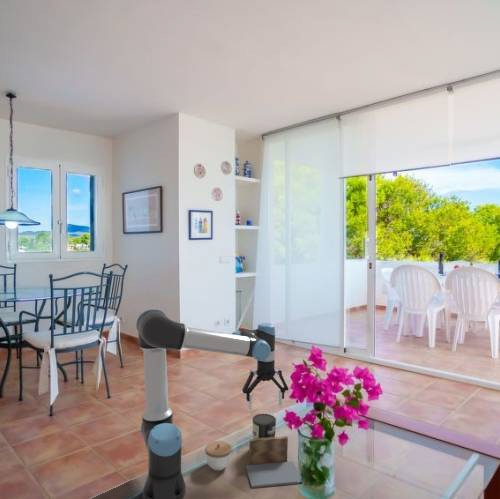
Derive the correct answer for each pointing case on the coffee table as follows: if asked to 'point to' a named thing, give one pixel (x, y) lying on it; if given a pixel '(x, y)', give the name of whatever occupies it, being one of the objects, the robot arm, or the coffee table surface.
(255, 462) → the walnut screen
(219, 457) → the lidded jar
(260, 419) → the coffee can
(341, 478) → the coffee table surface
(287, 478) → the slate mat
